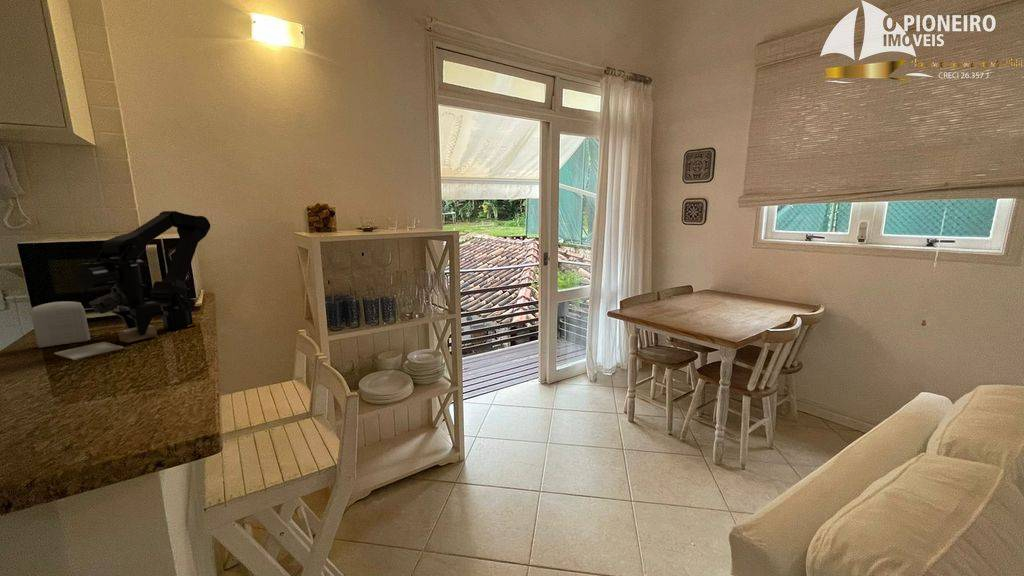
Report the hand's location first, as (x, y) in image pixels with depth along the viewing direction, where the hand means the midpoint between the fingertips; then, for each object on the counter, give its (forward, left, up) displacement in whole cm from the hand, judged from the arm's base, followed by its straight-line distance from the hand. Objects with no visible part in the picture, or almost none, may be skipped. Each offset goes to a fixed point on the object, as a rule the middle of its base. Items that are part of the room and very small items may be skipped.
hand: (138, 334), depth 117 cm
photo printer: (+10, -16, -2) cm, 19 cm away
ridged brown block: (0, 0, -1) cm, 1 cm away
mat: (+10, -1, -2) cm, 11 cm away
